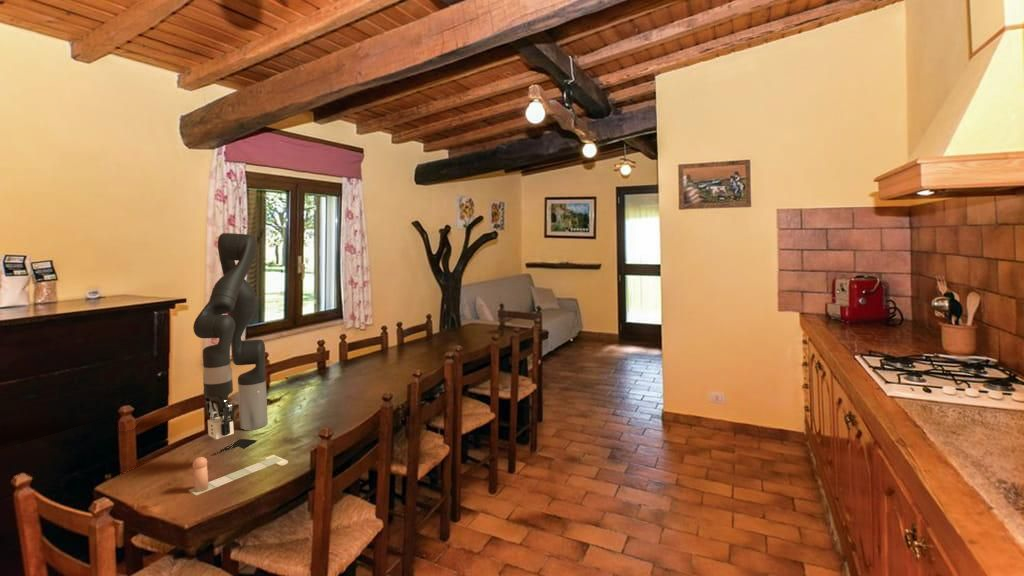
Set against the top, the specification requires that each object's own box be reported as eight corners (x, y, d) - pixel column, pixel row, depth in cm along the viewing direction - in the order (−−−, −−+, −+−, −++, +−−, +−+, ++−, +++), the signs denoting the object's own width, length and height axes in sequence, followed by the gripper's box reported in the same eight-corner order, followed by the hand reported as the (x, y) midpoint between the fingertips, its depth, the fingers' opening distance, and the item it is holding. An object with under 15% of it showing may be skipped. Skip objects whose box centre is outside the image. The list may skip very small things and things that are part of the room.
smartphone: (206, 457, 149) (240, 438, 164) (206, 459, 149) (240, 440, 164) (226, 459, 148) (258, 440, 162) (226, 461, 148) (258, 442, 162)
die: (207, 435, 142) (206, 419, 142) (225, 429, 146) (224, 414, 146) (216, 439, 139) (215, 423, 139) (234, 433, 144) (233, 417, 143)
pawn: (191, 489, 128) (189, 458, 127) (205, 484, 131) (203, 453, 130) (197, 493, 126) (195, 461, 125) (211, 488, 129) (209, 456, 128)
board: (182, 492, 128) (182, 489, 128) (273, 457, 150) (273, 454, 150) (196, 501, 124) (196, 498, 124) (287, 463, 146) (287, 460, 146)
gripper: (242, 380, 140) (245, 433, 142) (219, 372, 148) (222, 423, 150) (216, 386, 134) (219, 442, 136) (193, 378, 142) (196, 431, 144)
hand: (221, 432), depth 143 cm, fingers closed on die, 5 cm apart
